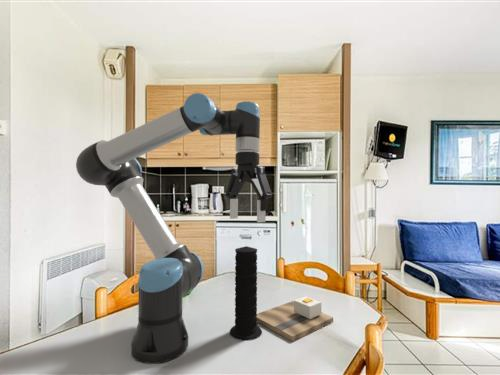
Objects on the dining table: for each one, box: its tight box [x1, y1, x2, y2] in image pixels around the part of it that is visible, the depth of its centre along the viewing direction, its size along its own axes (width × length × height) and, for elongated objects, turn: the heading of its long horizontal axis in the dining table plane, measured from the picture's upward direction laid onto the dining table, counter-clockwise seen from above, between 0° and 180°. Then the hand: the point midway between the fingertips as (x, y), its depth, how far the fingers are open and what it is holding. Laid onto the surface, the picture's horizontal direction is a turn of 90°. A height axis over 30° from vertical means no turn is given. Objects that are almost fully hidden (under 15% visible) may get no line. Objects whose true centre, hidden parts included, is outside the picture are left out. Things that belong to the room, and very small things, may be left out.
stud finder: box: [293, 295, 322, 319], centre depth 96 cm, size 6×7×4 cm
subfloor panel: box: [256, 300, 334, 342], centre depth 94 cm, size 20×18×2 cm
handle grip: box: [229, 246, 263, 341], centre depth 87 cm, size 10×26×10 cm
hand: (246, 220), depth 87 cm, fingers open, 13 cm apart
